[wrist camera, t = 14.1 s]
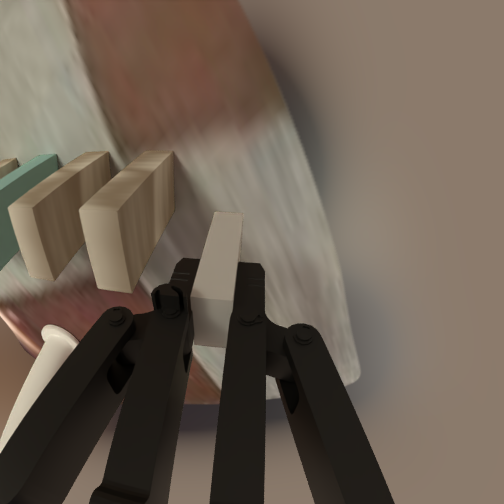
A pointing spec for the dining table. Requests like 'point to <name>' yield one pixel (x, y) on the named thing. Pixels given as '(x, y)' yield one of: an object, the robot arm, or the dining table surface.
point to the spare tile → (12, 188)
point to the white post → (40, 374)
